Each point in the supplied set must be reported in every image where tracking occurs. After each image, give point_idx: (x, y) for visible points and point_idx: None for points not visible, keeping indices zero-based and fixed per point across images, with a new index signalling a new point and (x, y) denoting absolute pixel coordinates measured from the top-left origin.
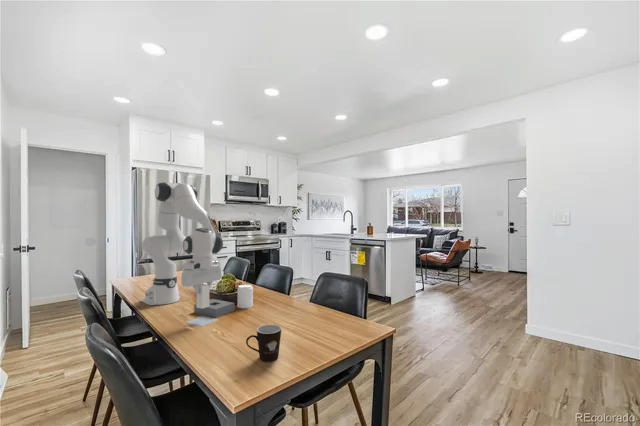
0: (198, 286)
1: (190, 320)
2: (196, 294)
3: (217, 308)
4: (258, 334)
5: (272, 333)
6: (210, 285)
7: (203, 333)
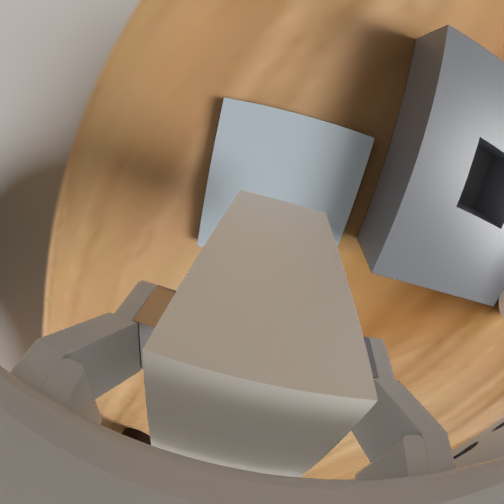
0: (99, 418)
1: (262, 109)
2: (205, 246)
3: (386, 272)
4: None
5: None
6: (372, 444)
7: (157, 283)
